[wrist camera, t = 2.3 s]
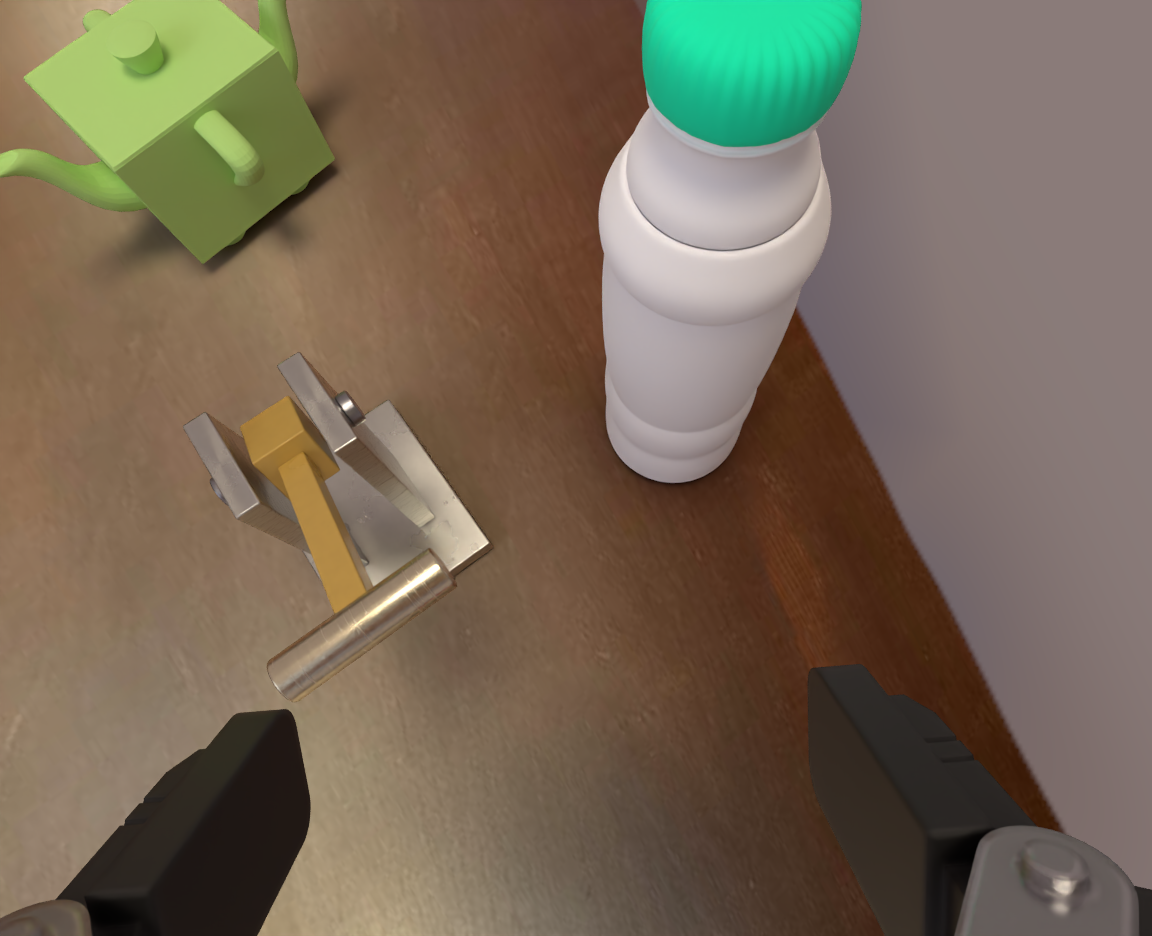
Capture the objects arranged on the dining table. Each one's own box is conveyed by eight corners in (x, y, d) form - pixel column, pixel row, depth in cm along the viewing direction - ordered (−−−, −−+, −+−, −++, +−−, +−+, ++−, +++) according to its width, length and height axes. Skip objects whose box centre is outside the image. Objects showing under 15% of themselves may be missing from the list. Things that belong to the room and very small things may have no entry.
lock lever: (471, 602, 21) (433, 559, 20) (313, 717, 20) (259, 682, 19) (357, 412, 30) (323, 370, 28) (242, 489, 29) (200, 450, 27)
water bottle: (747, 379, 39) (947, -114, 15) (723, 499, 37) (913, 143, 13) (622, 354, 40) (630, -149, 16) (592, 470, 38) (552, 87, 14)
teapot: (357, 89, 47) (287, -77, 37) (353, 262, 43) (271, 128, 33) (133, 112, 48) (2, -46, 38) (106, 285, 44) (-48, 160, 33)
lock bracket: (494, 547, 37) (434, 473, 25) (363, 641, 36) (234, 611, 24) (394, 407, 40) (297, 278, 28) (271, 489, 39) (112, 393, 27)
